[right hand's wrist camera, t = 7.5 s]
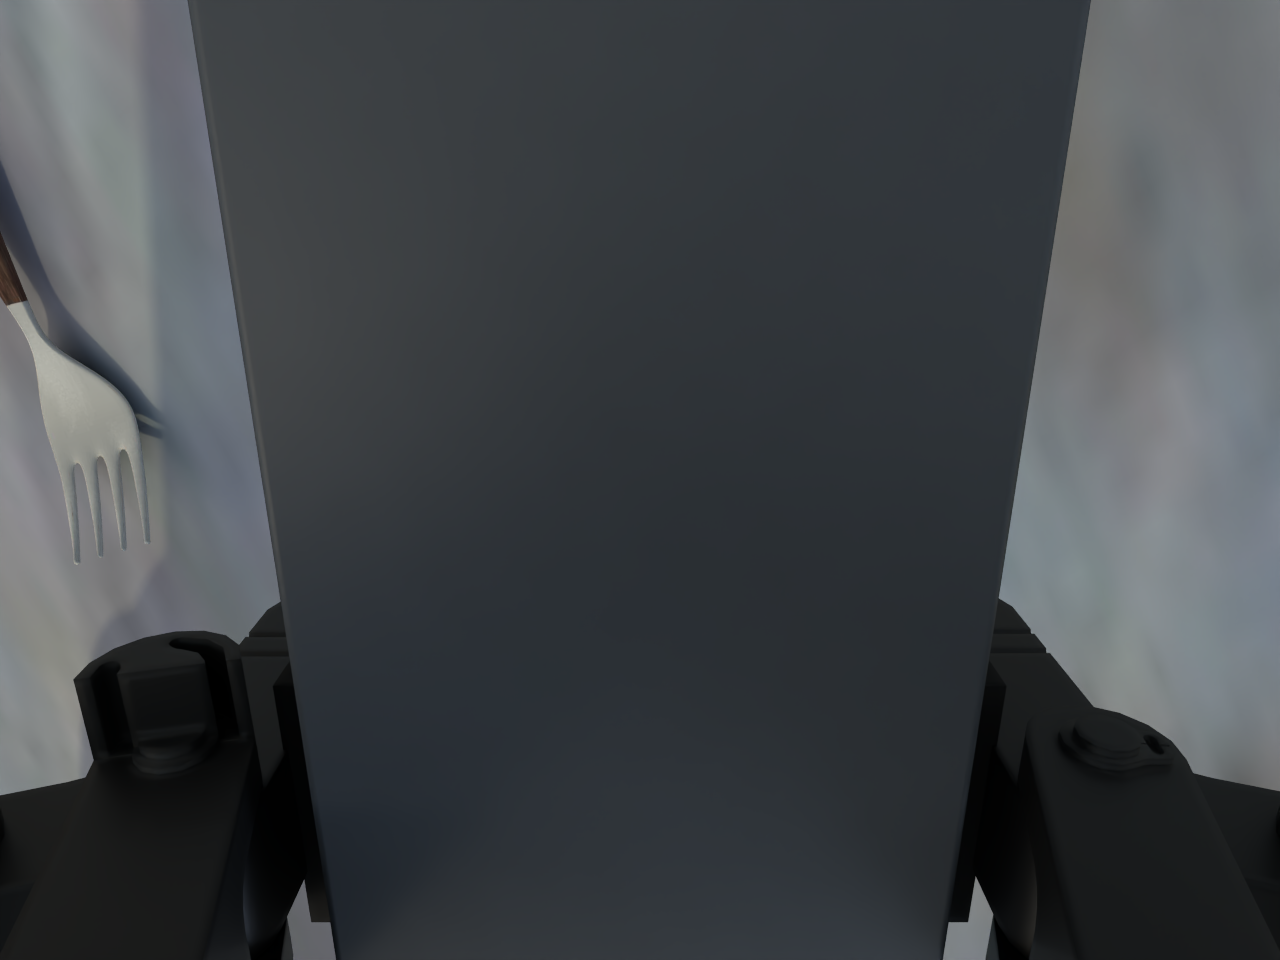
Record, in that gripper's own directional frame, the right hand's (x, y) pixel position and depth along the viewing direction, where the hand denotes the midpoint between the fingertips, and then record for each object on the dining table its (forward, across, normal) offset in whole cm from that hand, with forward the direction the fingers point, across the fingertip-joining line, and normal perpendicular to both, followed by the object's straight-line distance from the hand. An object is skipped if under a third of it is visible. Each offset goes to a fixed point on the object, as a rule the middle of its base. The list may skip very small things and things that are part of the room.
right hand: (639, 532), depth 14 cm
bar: (+1, 0, -8) cm, 8 cm away
